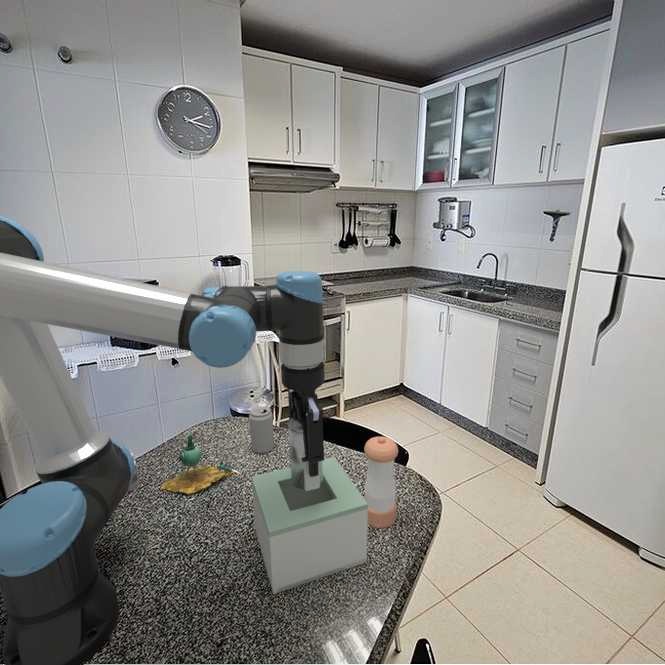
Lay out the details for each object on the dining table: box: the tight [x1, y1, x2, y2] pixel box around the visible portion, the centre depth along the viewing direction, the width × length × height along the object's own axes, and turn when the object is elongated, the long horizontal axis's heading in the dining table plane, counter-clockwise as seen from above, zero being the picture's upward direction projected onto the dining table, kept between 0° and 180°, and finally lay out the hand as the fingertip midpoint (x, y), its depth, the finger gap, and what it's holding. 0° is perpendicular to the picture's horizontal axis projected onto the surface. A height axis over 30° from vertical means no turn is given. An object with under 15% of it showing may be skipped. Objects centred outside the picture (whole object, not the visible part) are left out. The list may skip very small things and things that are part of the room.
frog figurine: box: [160, 432, 236, 495], centre depth 97 cm, size 10×18×15 cm, turn 100°
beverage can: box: [248, 405, 275, 454], centre depth 111 cm, size 6×6×12 cm
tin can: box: [287, 416, 323, 490], centre depth 73 cm, size 6×6×12 cm
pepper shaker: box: [363, 436, 399, 529], centre depth 84 cm, size 7×7×19 cm
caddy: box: [251, 456, 368, 595], centre depth 77 cm, size 18×16×13 cm
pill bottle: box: [127, 451, 140, 493], centre depth 96 cm, size 5×5×8 cm
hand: (306, 477), depth 75 cm, fingers closed on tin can, 6 cm apart
